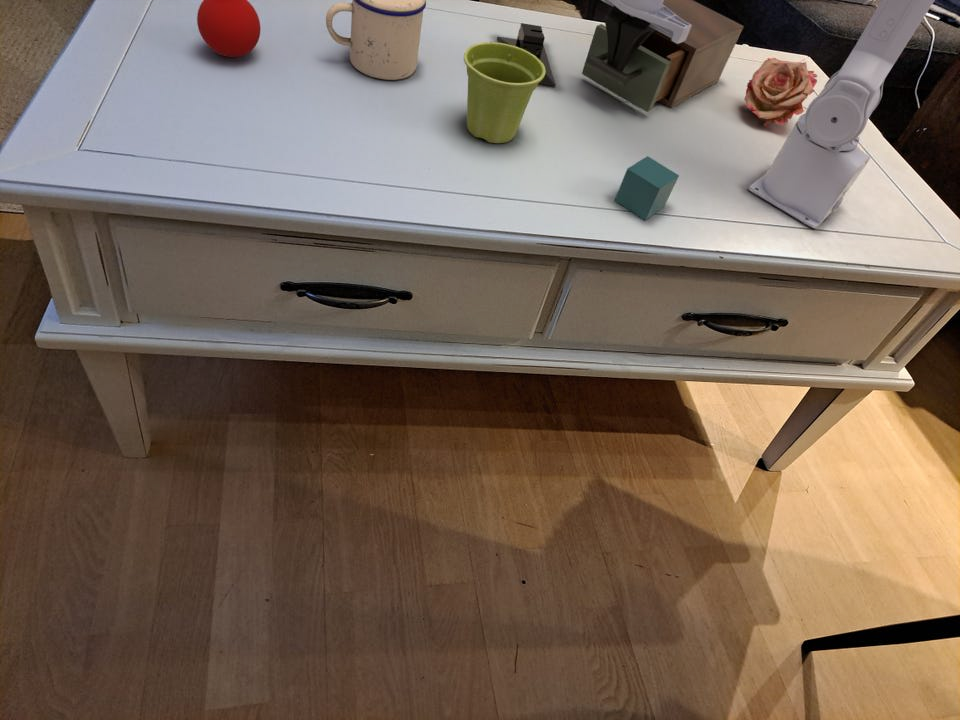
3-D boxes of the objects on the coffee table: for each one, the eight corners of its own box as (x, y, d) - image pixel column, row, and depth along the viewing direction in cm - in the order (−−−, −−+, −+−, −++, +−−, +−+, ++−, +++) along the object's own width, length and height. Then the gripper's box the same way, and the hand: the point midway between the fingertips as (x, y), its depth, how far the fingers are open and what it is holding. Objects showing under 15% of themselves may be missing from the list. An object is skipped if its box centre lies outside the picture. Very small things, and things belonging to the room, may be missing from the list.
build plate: (555, 89, 95) (564, 56, 91) (503, 82, 93) (511, 48, 90) (542, 45, 102) (551, 13, 99) (494, 38, 101) (501, 5, 97)
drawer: (628, 122, 90) (648, 73, 85) (561, 82, 94) (576, 32, 89) (694, 87, 101) (714, 41, 96) (631, 52, 105) (648, 6, 99)
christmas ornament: (210, 70, 81) (200, -19, 74) (193, 41, 85) (182, -47, 77) (269, 66, 84) (266, -20, 77) (251, 37, 88) (246, -47, 80)
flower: (758, 81, 104) (762, 43, 97) (820, 95, 101) (829, 58, 93) (731, 134, 103) (732, 100, 96) (792, 150, 100) (799, 117, 92)
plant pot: (472, 156, 80) (486, 86, 73) (440, 111, 85) (451, 42, 78) (540, 148, 84) (560, 81, 77) (506, 106, 89) (522, 40, 82)
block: (664, 206, 81) (679, 175, 77) (645, 220, 78) (659, 188, 75) (634, 187, 82) (647, 155, 79) (614, 200, 80) (627, 168, 76)
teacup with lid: (409, 48, 94) (419, -44, 85) (425, 83, 89) (437, -11, 80) (320, 44, 90) (321, -53, 81) (330, 80, 85) (333, -19, 76)
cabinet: (670, 108, 97) (696, 48, 91) (600, 67, 101) (619, 7, 95) (717, 82, 105) (744, 26, 99) (650, 45, 110) (671, -11, 103)
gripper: (720, -18, 81) (674, 90, 91) (621, -67, 86) (588, 41, 96) (691, -8, 77) (646, 104, 87) (589, -59, 81) (558, 52, 92)
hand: (613, 72), depth 91 cm, fingers closed, pressing on drawer
